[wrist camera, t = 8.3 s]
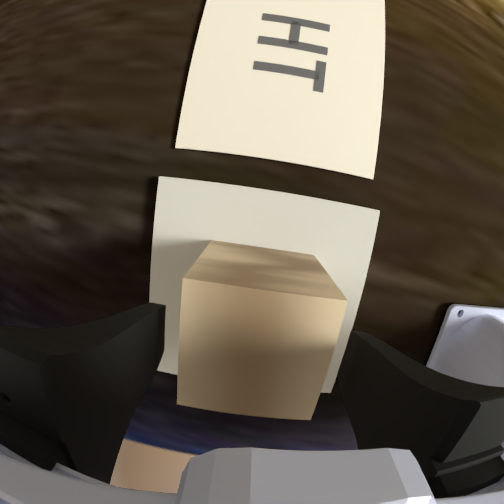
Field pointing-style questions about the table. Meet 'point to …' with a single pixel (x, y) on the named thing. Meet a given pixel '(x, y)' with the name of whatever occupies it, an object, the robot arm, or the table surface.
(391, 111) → the table surface
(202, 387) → the maple block
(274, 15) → the cream card
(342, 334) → the grey mat
